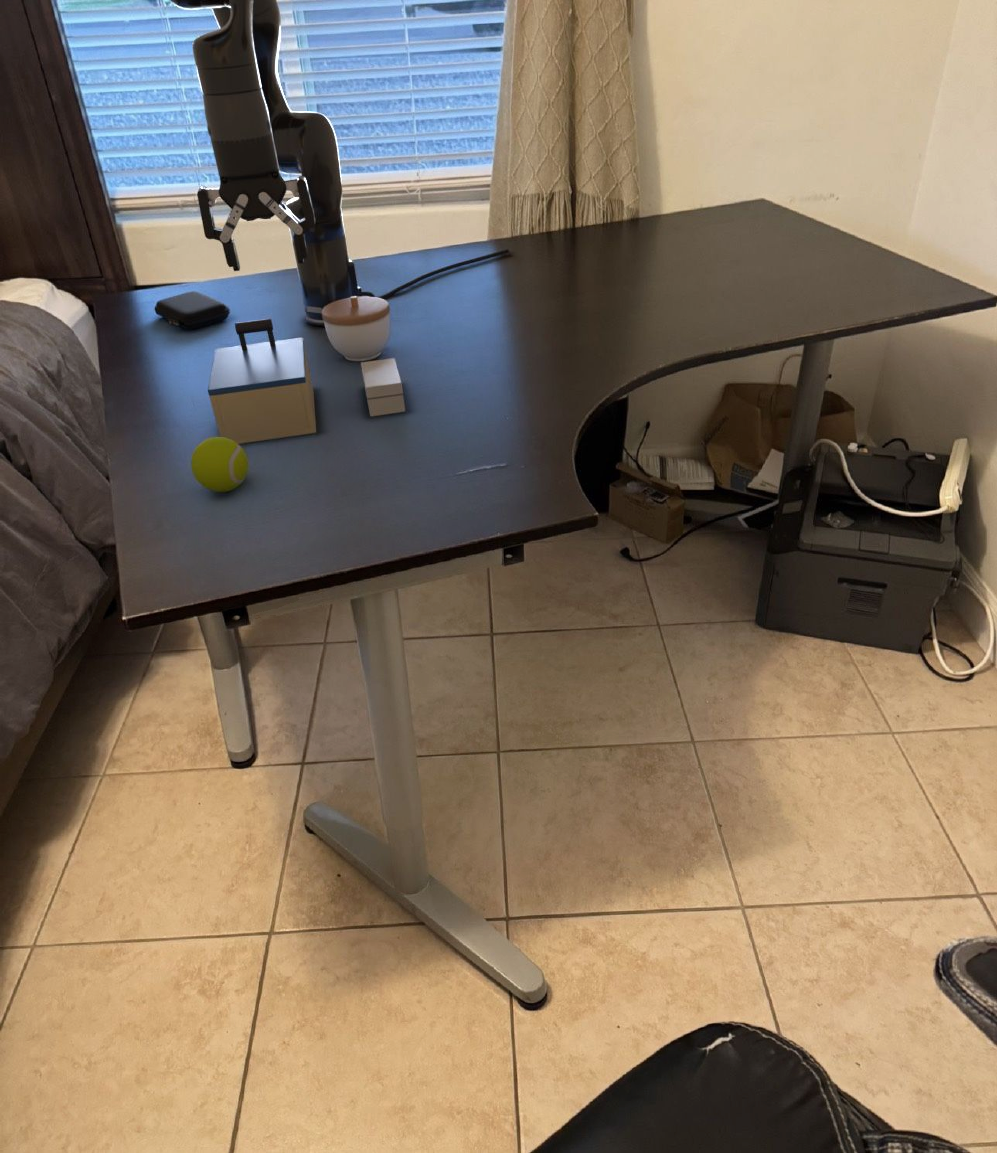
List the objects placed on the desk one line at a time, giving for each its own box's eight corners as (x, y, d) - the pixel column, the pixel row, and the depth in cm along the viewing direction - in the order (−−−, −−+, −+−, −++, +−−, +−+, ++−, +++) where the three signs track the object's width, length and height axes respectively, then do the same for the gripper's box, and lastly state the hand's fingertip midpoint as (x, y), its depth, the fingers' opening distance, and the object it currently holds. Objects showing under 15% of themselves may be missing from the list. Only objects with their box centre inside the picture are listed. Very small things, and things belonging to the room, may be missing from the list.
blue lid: (216, 353, 125) (208, 322, 123) (304, 342, 127) (297, 310, 124) (208, 395, 113) (199, 361, 110) (306, 382, 115) (299, 348, 112)
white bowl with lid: (342, 372, 136) (331, 313, 130) (321, 351, 144) (310, 295, 138) (405, 356, 139) (397, 298, 134) (381, 337, 147) (373, 281, 142)
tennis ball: (217, 472, 111) (204, 425, 107) (263, 477, 109) (251, 429, 105) (188, 499, 106) (173, 450, 102) (236, 504, 104) (222, 455, 100)
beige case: (364, 390, 130) (360, 362, 127) (398, 385, 130) (394, 357, 128) (369, 417, 122) (365, 387, 119) (405, 411, 123) (401, 382, 120)
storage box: (228, 402, 129) (216, 355, 125) (313, 391, 131) (304, 344, 126) (222, 446, 117) (209, 396, 113) (316, 432, 119) (306, 383, 115)
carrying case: (147, 318, 163) (182, 335, 154) (142, 302, 162) (177, 319, 152) (199, 303, 169) (236, 319, 160) (195, 287, 167) (232, 302, 158)
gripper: (299, 122, 111) (321, 252, 120) (185, 133, 109) (217, 264, 119) (298, 131, 105) (322, 267, 114) (178, 143, 103) (212, 280, 113)
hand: (269, 265), depth 117 cm, fingers open, 8 cm apart
